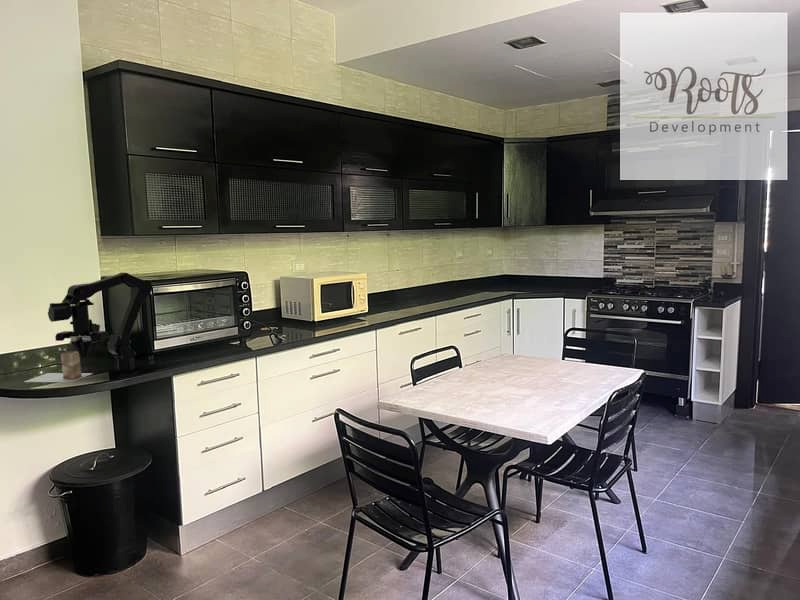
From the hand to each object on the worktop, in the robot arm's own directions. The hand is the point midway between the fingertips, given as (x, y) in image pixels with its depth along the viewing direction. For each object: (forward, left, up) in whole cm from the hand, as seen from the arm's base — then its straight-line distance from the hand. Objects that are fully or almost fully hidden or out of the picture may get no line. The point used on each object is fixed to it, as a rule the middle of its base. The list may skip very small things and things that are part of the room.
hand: (84, 357), depth 227 cm
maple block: (+6, 0, -8) cm, 10 cm away
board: (+12, -1, -9) cm, 15 cm away
